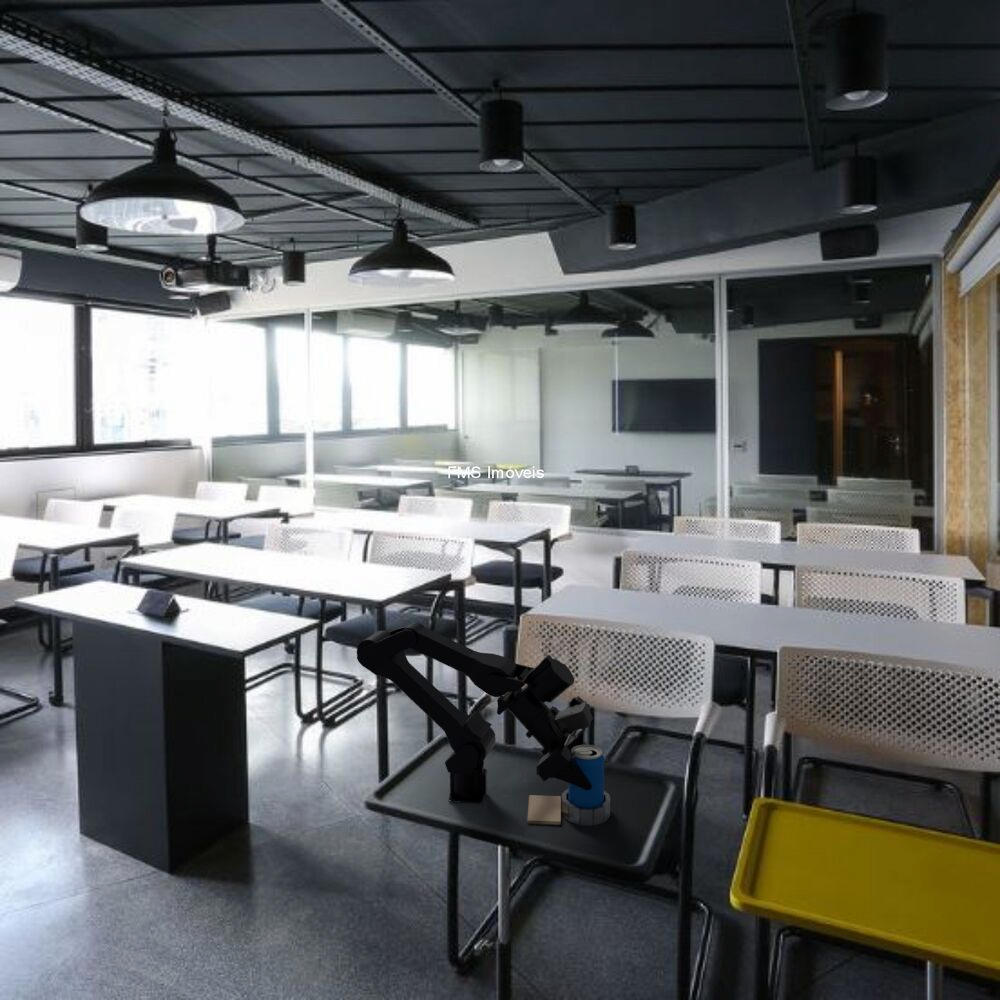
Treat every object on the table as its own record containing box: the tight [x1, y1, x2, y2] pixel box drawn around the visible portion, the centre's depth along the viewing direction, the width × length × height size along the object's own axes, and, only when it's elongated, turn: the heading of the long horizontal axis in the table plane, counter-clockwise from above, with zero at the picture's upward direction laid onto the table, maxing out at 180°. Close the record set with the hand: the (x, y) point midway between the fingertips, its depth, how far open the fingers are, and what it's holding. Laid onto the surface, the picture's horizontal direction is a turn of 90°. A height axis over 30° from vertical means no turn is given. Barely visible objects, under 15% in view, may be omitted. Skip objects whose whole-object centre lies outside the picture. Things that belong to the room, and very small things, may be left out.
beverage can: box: [567, 744, 605, 808], centre depth 151 cm, size 6×6×12 cm
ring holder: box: [561, 788, 611, 827], centre depth 152 cm, size 9×9×3 cm
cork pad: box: [526, 794, 562, 826], centre depth 153 cm, size 6×9×1 cm, turn 176°
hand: (593, 779), depth 151 cm, fingers closed on beverage can, 6 cm apart
